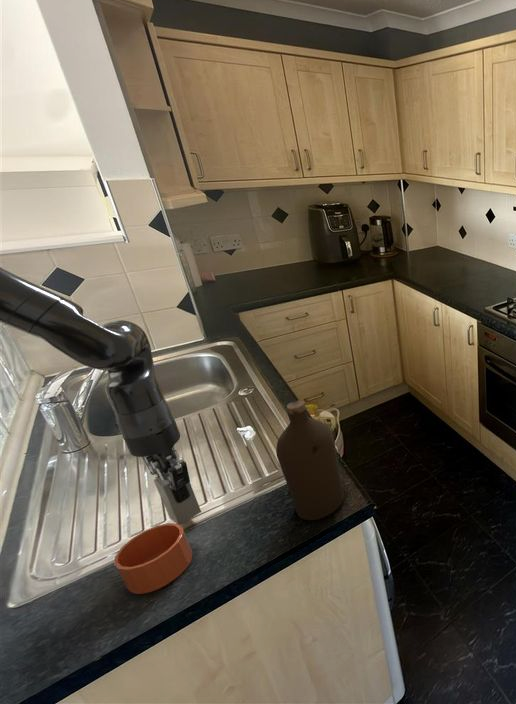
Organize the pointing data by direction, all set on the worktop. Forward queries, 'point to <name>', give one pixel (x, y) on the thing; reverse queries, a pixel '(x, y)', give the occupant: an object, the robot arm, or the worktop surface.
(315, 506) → the olive oil
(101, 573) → the worktop surface
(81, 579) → the worktop surface
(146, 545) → the bowl
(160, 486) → the block
